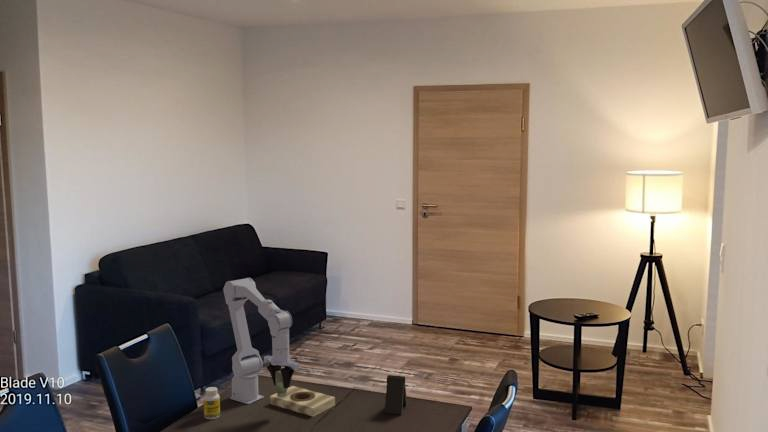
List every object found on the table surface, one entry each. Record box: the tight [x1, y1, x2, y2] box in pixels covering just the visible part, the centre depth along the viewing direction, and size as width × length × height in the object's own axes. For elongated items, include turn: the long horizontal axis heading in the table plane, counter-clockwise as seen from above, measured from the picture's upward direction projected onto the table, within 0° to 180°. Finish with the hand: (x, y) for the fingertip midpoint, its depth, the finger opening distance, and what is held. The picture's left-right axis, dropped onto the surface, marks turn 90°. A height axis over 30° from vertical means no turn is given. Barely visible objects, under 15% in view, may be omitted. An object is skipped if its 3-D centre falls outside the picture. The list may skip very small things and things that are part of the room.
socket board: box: [269, 385, 336, 418], centre depth 239 cm, size 20×12×3 cm, turn 56°
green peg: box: [275, 371, 289, 397], centre depth 229 cm, size 4×4×8 cm
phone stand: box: [384, 374, 408, 416], centre depth 234 cm, size 9×6×12 cm, turn 165°
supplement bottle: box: [203, 386, 221, 420], centre depth 228 cm, size 5×5×10 cm
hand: (281, 386), depth 229 cm, fingers closed on green peg, 4 cm apart
